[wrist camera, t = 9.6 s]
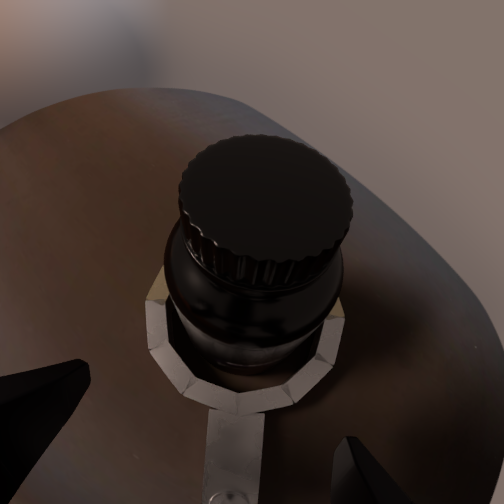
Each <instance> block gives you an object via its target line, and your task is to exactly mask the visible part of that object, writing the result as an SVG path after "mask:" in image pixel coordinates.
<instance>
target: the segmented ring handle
mask: <svg viewBox="0 0 504 504" xmlns="http://www.w3.org/2000/svg"><path fill="white" fill-rule="evenodd" d="M160 300H161V299H160ZM162 300H163V299H162ZM162 300H161V301H162ZM155 301H156V300H155ZM158 302H160V301H158V300H157V303H156V302H154V300H149V301H145V306H146V324H147V338H148V349H149V350H150V351H149V352H150V353H151V355H152V356H153V357H154V359H155V360H156V362H157V363H158V364H159V366H160V367H161V368H162V370H163V371H164V373H165V374H166V375H167V377H168V378H169V379H170V381H171V382H172V383H173V384H174V386H175V387H176V388H177V390H178V391H179V392H180V393H181V394H183V396H186V397H188V398H190V399H193V400H195V401H198V402H200V403H203V404H205V405H208V406H211V407H213V408H216V409H219V410H216V409H209V418H208V429H207V440H206V453H205V465H204V479H203V493H202V504H258V494H259V482H260V470H261V458H262V445H263V432H264V417H265V414H264V413H256V412H261V411H266V410H271V409H276V408H280V407H285V406H289V405H293V403H296V402H298V401H299V400H300V399H301V398H302V397H303V396H304V395H305V394H306V393H307V392H308V391H309V390H310V389H311V388H312V387H313V386H315V385H316V384H317V383H318V382H319V381H320V380H321V379H322V378H323V377H324V376H325V375H326V374H327V373H328V372H329V371H330V370H331V369H332V368H333V367H332V366H333V365H334V364H335V360H336V356H337V352H338V347H339V343H340V339H341V334H342V330H343V325H344V321H345V318H341V317H340V318H339V317H338V316H335V315H333V316H330V314H329V316H327V317H326V318H328V317H334V316H335V319H334V318H333V319H332V318H330V320H327V319H325V320H324V321H323V322H322V323H321V324H320V326H319V327H318V328H317V329H316V330H315V334H314V337H313V341H312V345H311V348H310V352H309V355H308V359H307V362H305V363H304V364H303V365H302V366H301V367H300V368H299V369H298V370H297V371H296V372H295V373H294V374H293V375H291V376H290V377H289V378H288V379H287V380H286V381H285V382H284V383H282V384H281V385H280V386H276V387H271V388H266V389H261V390H255V391H250V392H244V393H236V392H233V391H230V390H228V389H225V388H222V387H219V386H217V385H214V384H211V383H209V382H206V381H204V380H201V379H199V378H197V377H196V376H195V374H194V373H193V372H192V371H191V369H190V368H189V367H188V366H187V364H186V363H185V362H184V360H183V359H182V358H181V357H180V355H179V354H178V353H177V351H176V350H175V342H174V333H173V323H172V314H171V312H170V310H169V308H168V307H167V305H166V303H165V302H164V301H163V302H162V303H164V304H162V305H164V306H162V305H160V303H158Z"/></svg>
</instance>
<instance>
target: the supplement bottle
mask: <svg viewBox="0 0 504 504" xmlns="http://www.w3.org/2000/svg"><path fill="white" fill-rule="evenodd" d="M178 189H179V199H178V204H179V210H180V218H179V219H178V221H177V222H176V224H175V225H174V227H173V229H172V231H171V233H170V235H169V238H168V240H167V244H166V248H165V253H164V275H165V280H166V284H167V288H168V291H169V294H170V297H171V299H172V301H173V303H174V306H175V308H176V310H177V312H178V314H179V317H180V319H181V321H182V323H183V325H184V327H185V329H186V331H187V334H188V336H189V338H190V340H191V342H192V344H193V345H194V347H195V348H196V350H197V351H198V353H199V354H200V355H201V356H202V357H203V358H204V359H205V360H206V361H207V362H208V363H209V364H211V365H212V366H214V367H215V368H217V369H219V370H221V371H224V372H227V373H230V374H235V375H253V374H258V373H261V372H264V371H267V370H269V369H271V368H273V367H275V366H276V365H278V364H279V363H280V362H282V361H283V360H284V359H285V358H286V357H287V356H288V355H289V354H291V353H292V352H293V351H294V350H295V349H296V348H297V347H298V346H299V345H300V344H301V343H302V342H303V341H304V340H305V339H306V338H308V337H309V336H310V335H311V334H312V333H313V332H314V331H315V330H316V329H317V328H318V327H319V326H320V324H321V323H322V322H323V321H324V320H325V319H326V317H327V316H328V315H329V313H330V312H331V310H332V309H333V307H334V305H335V303H336V302H337V299H338V297H339V294H340V291H341V287H342V283H343V273H344V266H343V257H342V252H341V248H340V245H341V243H342V241H343V240H344V238H345V236H346V234H347V233H348V231H349V227H350V221H351V220H352V217H353V210H352V205H353V199H352V198H351V196H350V188H349V187H348V185H347V184H346V180H345V177H343V176H342V175H341V174H340V173H339V171H338V168H337V167H336V166H334V165H333V164H331V163H330V161H329V160H328V159H327V158H326V157H324V156H322V155H320V154H319V153H318V152H317V151H316V150H314V149H311V148H309V147H307V146H306V145H304V144H302V143H298V142H295V141H293V140H291V139H286V138H281V137H278V136H267V135H263V134H260V135H248V134H247V135H244V136H233V137H231V138H229V139H225V140H220V141H218V142H217V143H216V144H213V145H209V146H208V147H207V148H206V149H205V150H204V151H201V152H199V153H198V154H197V155H196V158H195V159H193V160H191V161H190V162H189V164H188V168H187V169H186V170H185V171H184V172H183V173H182V181H181V182H180V184H179V188H178Z"/></svg>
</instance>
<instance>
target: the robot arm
mask: <svg viewBox="0 0 504 504" xmlns="http://www.w3.org/2000/svg"><path fill="white" fill-rule="evenodd" d="M90 382H91V377H90V370H89V365H88V363H87V362H85V361H83V360H81V359H74V360H71V361H67V362H63V363H59V364H55V365H51V366H47V367H42V368H38V369H34V370H30V371H25V372H21V373H16V374H11V375H7V376H2V377H0V504H8V503H9V502H10V500H11V499H12V497H13V496H14V495H15V493H16V492H17V490H18V489H19V487H20V485H21V484H22V483H23V481H24V480H25V478H26V477H27V475H28V474H29V472H30V471H31V470H32V468H33V467H34V465H35V464H36V463H37V461H38V460H39V458H40V457H41V456H42V454H43V453H44V452H45V450H46V449H47V447H48V446H49V445H50V443H51V442H52V441H53V439H54V438H55V437H56V435H57V434H58V433H59V431H60V430H61V429H62V427H63V426H64V425H65V423H66V422H67V421H68V419H69V418H70V417H71V415H72V414H73V412H74V411H75V409H76V407H77V406H78V404H79V402H80V400H81V399H82V397H83V395H84V394H85V392H86V390H87V389H88V387H89V385H90ZM331 504H415V503H414V502H413V501H411V499H410V498H409V497H408V496H407V495H406V494H405V492H404V491H403V490H402V489H401V488H400V487H399V486H398V485H397V483H396V482H395V481H394V480H393V479H392V478H391V477H390V475H389V474H388V473H387V472H386V471H385V470H384V468H383V467H382V466H381V465H380V464H379V463H378V461H377V460H376V459H375V458H374V457H373V456H372V454H371V453H370V452H369V451H368V450H367V448H366V447H365V446H364V445H363V444H362V443H361V441H360V440H359V439H358V438H357V437H351V436H346V437H344V438H343V440H342V441H341V443H340V444H339V445H338V447H337V448H336V450H335V452H334V457H333V469H332V480H331Z"/></svg>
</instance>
